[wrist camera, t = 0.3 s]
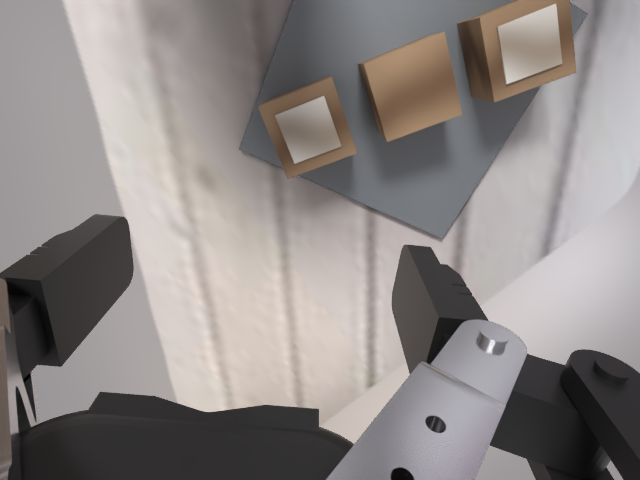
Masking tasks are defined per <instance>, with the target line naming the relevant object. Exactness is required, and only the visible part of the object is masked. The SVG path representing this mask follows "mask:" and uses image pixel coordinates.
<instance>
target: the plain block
mask: <svg viewBox="0 0 640 480" xmlns="http://www.w3.org/2000/svg"><path fill="white" fill-rule="evenodd" d="M358 66H359V69H360V72H361V76H362V79H363V82H364V86H365V89H366V92H367V95H368V99H369V102H370V105H371V109H372V112H373V115H374V118H375V122H376V125H377V128H378V132H379V133H380V134H381V135H382V136H383V138H384V139H385V140H386V141H387V142H389V141H392V140H394V139H397V138H400V137H402V136H405V135H408V134H411V133H413V132H416V131H419V130H421V129H424V128H427V127H429V126H432V125H435V124H438V123H440V122H443V121H446V120H448V119H451V118H454V117H457V116H459V115H462V111H461V106H460V102H459V97H458V92H457V88H456V83H455V78H454V73H453V69H452V64H451V59H450V55H449V50H448V45H447V40H446V36H445V32H441V33H437V34H432V35H428V36H425V37H423V38H420V39H418V40H415V41H413V42H410V43H408V44H405V45H403V46H400V47H398V48H395V49H393V50H390V51H388V52H386V53H383V54H381V55H378V56H376V57H373V58H371V59H368V60H366V61H363V62H361V63H358Z"/></svg>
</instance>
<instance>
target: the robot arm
mask: <svg viewBox="0 0 640 480" xmlns="http://www.w3.org/2000/svg"><path fill="white" fill-rule="evenodd" d="M132 276H133V258H132V249H131V240H130V231H129V225H128V221H127V220H126V218H125V217H120V216H110V215H99V214H95V215H93V216H92V217H90V218H89V219H87V220H86V221H85V222H83V223H82V224H80V225H79V226H77V227H76V228H74V229H73V230H70V231H67V232H65V233H62V234H59V235H56V236H54V237H53V238H51V239H50V240H48V241H47V242H46V243H44V244H43V245H42V247H38V248H37V249H35V250H34V251H32V252H31V253H30V255H26V256H25V257H23V258H22V259H20V260H19V261H17V262H16V263H14V264H13V265H11V266H10V267H9V268H7V269H5V270H4V271H3V272H1V273H0V480H475V478H476V476H477V473H478V471H479V468H480V466H481V464H482V461H483V459H484V457H485V454H486V452H487V449H488V447H489V445H490V446H493V447H496V448H499V449H501V450H504V451H507V452H510V453H512V454H515V455H518V456H521V457H523V458H526V459H527V461H528V463H529V465H530V467H531V470H532V472H533V474H534V476H535V478H536V480H614V479H613V477H612V476H611V474H610V472H609V471H608V469H607V468H606V466H607V465H608V463H609V462H610V460H611V461H612V462H613V464H614V465H615V467H616V468H617V470H618V471H619V473H620V475H621V476H622V478H623V479H624V480H640V373H638V372H637V371H636V370H635V369H633V368H632V367H630V366H629V365H627V364H626V363H624V362H622V361H620V360H618V359H616V358H614V357H612V356H610V355H607V354H604V353H601V352H597V351H593V350H577V351H574V352H573V353H572V354H571V355H570V357H569V359H568V361H567V363H566V365H562V364H558V363H555V362H552V361H548V360H545V359H541V358H538V357H535V356H532V355H529V354H527V348H526V346H525V344H524V342H523V341H522V340H521V339H520V337H518V336H517V335H516V334H515V333H513V332H512V331H511V330H509V329H507V328H506V327H503V326H501V325H499V324H496V323H494V322H490V321H488V319H487V317H486V316H485V314H484V313H483V311H482V310H481V308H480V306H479V305H478V303H477V301H476V300H475V298H474V297H473V296H472V293H471V292H470V290H469V289H468V287H466V284H465V282H464V281H463V279H462V277H461V276H460V274H458V273H457V272H456V271H454V270H453V269H452V268H450V267H449V266H448V265H443V264H440V263H439V261H438V259H437V257H436V255H435V254H434V252H433V250H432V248H431V247H424V246H414V245H404V246H403V248H402V251H401V255H400V259H399V264H398V269H397V273H396V278H395V282H394V287H393V292H392V311H393V314H394V318H395V322H396V325H397V329H398V333H399V336H400V340H401V344H402V347H403V351H404V355H405V358H406V362H407V365H408V369H409V373H410V376H409V377H408V378H407V379H406V381H405V382H404V383H403V384H402V385H401V387H400V388H399V389H398V391H397V392H396V393H395V394H394V395H393V397H392V398H391V399H390V401H389V402H388V403H387V404H386V406H385V407H384V408H383V409H382V410H381V412H380V413H379V414H378V415H377V417H376V418H375V419H374V420H373V422H372V423H371V424H370V425H369V427H368V428H367V429H366V430H365V432H364V433H363V434H362V435H361V437H360V438H359V439H358V440H357V442H356V443H355V444H353V443H352V442H350V441H348V440H347V439H345V438H344V437H342V436H340V435H338V434H336V433H334V432H331V431H329V430H327V429H324V428H321V427H319V409H310V408H298V407H285V406H272V405H262V406H255V407H247V408H240V409H232V410H225V411H217V412H203V411H199V410H196V409H193V408H190V407H187V406H184V405H181V404H177V403H174V402H171V401H168V400H165V399H162V398H159V397H156V396H146V395H133V394H120V393H107V392H100V393H99V394H98V396H97V398H96V399H95V401H94V402H93V404H92V405H91V407H90V408H89V410H84V411H79V412H75V413H70V414H66V415H63V416H59V417H56V418H53V419H50V420H47V421H45V422H42V423H40V420H39V413H38V406H37V398H36V391H35V383H34V379H33V375H32V372H31V371H32V370H33V369H34V368H35V366H36V365H48V366H60V367H61V366H62V365H63V364H64V362H65V361H66V360H67V359H68V358H69V357H70V356H71V354H72V353H73V352H74V351H75V350H76V348H77V347H78V346H79V345H80V344H81V342H82V341H83V340H84V339H85V338H86V336H87V335H88V334H89V333H90V332H91V330H92V329H93V328H94V327H95V326H96V325H97V323H98V322H99V321H100V320H101V318H102V317H103V316H104V315H105V314H106V312H107V311H108V310H109V309H110V308H111V306H112V305H113V304H114V303H115V302H116V301H117V299H118V298H119V297H120V296H121V295H122V293H123V292H124V291H125V290H126V289H127V287H128V286H129V284H130V282H131V280H132Z"/></svg>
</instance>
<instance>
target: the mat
mask: <svg viewBox="0 0 640 480" xmlns="http://www.w3.org/2000/svg"><path fill="white" fill-rule="evenodd" d="M512 1H514V0H293V3H292V6H291V8H290V11H289V14H288V17H287V19H286V22H285V25H284V28H283V30H282V33H281V36H280V38H279V41H278V44H277V47H276V49H275V52H274V55H273V58H272V60H271V63H270V66H269V69H268V71H267V74H266V77H265V80H264V82H263V85H262V88H261V90H260V93H259V96H258V99H257V101H256V104H255V107H254V110H253V112H252V115H251V118H250V121H249V123H248V126H247V129H246V131H245V134H244V137H243V140H242V142H241V145H240V148H239V149H240V150H242V151H244V152H246V153H249V154H251V155H253V156H255V157H258V158H260V159H262V160H265V161H267V162H269V163H271V164H274V165H276V166H278V167H280V168H283V166H282V163H281V161H280V158H279V156H278V154H277V151H276V149H275V146H274V144H273V142H272V139H271V137H270V135H269V132H268V130H267V127H266V125H265V123H264V120H263V118H262V116H261V113H260V111H259V108H258V107H259V106H260V105H261V104H263V103H264V102H265V101H267V100H269V99H272V98H274V97H277V96H279V95H282V94H284V93H287V92H289V91H292V90H294V89H297V88H299V87H302V86H304V85H306V84H309V83H311V82H314V81H316V80H319V79H321V78H324V77H326V76H329V75H331V77H332V79H333V82H334V85H335V88H336V91H337V94H338V97H339V100H340V103H341V106H342V109H343V112H344V115H345V118H346V121H347V124H348V127H349V130H350V133H351V136H352V139H353V142H354V145H355V148H356V151H357V153H356V154H354V155H351V156H348V157H346V158H343V159H340V160H337V161H335V162H332V163H329V164H327V165H324V166H321V167H318V168H316V169H313V170H310V171H308V172H305V173H302V174H300V175H299V176H301V177H303V178H305V179H308V180H310V181H312V182H314V183H317V184H319V185H321V186H324V187H326V188H328V189H330V190H333V191H335V192H337V193H339V194H342V195H344V196H346V197H349V198H351V199H353V200H355V201H358V202H360V203H362V204H364V205H367V206H369V207H371V208H374V209H376V210H378V211H380V212H383V213H385V214H387V215H389V216H392V217H394V218H396V219H399V220H401V221H403V222H405V223H408V224H410V225H412V226H414V227H417V228H419V229H421V230H424V231H426V232H428V233H430V234H433V235H435V236H437V237H439V238H442V239H443V237H444V235H445V234H446V232H447V231H448V229H449V228H450V226H451V225H452V223H453V222H454V220H455V218H456V217H457V215H458V214H459V212H460V211H461V209H462V208H463V206H464V204H465V203H466V201H467V200H468V198H469V197H470V195H471V194H472V192H473V191H474V189H475V187H476V186H477V184H478V183H479V181H480V180H481V178H482V177H483V175H484V174H485V172H486V170H487V169H488V167H489V166H490V164H491V163H492V161H493V160H494V158H495V156H496V155H497V153H498V152H499V150H500V149H501V147H502V146H503V144H504V143H505V141H506V139H507V138H508V136H509V135H510V133H511V132H512V130H513V129H514V127H515V126H516V124H517V122H518V121H519V119H520V118H521V116H522V115H523V113H524V112H525V110H526V108H527V107H528V105H529V104H530V102H531V101H532V99H533V98H534V96H535V95H536V93H537V91H538V90H539V88H540V87H541V85H540V86H538V87H535V88H532V89H530V90H527V91H524V92H522V93H519V94H516V95H513V96H511V97H508V98H505V99H503V100H500V101H497V102H491V101H486V100H482V99H478V98H474V97H471V93H470V88H469V83H468V78H467V73H466V68H465V62H464V57H463V52H462V47H461V42H460V37H459V32H458V27H457V23H460V22H462V21H465V20H467V19H470V18H472V17H474V16H477V15H479V14H482V13H484V12H487V11H489V10H492V9H494V8H497V7H499V6H502V5H504V4H507V3H509V2H512ZM570 9H571V20H572V31H573V36H574V34H575V33H576V31H577V30H578V28H579V26H580V25H581V23H582V22H583V20H584V19H585V17H586V16H587V14H588V13H586V12H585V11H583V10H581V9H580V8H578V7H576V6H575V5H573V4H571V3H570ZM441 32H445V36H446V40H447V45H448V50H449V55H450V59H451V64H452V69H453V73H454V78H455V83H456V88H457V92H458V97H459V102H460V106H461V111H462V115H459V116H457V117H454V118H451V119H448V120H446V121H443V122H440V123H438V124H435V125H432V126H429V127H427V128H424V129H421V130H419V131H416V132H413V133H411V134H408V135H405V136H402V137H400V138H397V139H394V140H392V141H389V142H387V141H386V140H385V139H384V138H383V136H382V135H381V134H380V133H379V132H378V128H377V125H376V122H375V118H374V115H373V112H372V109H371V105H370V102H369V99H368V95H367V92H366V89H365V86H364V82H363V79H362V76H361V72H360V69H359V66H358V63H361V62H363V61H366V60H368V59H371V58H373V57H376V56H378V55H381V54H383V53H386V52H388V51H390V50H393V49H395V48H398V47H400V46H403V45H405V44H408V43H410V42H413V41H415V40H418V39H420V38H423V37H425V36H428V35H432V34H437V33H441ZM283 169H284V168H283Z"/></svg>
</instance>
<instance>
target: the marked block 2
mask: <svg viewBox="0 0 640 480" xmlns="http://www.w3.org/2000/svg"><path fill="white" fill-rule="evenodd" d="M457 27H458V32H459V37H460V42H461V47H462V52H463V57H464V62H465V68H466V73H467V78H468V83H469V88H470V93H471V97H474V98H478V99H482V100H486V101H491V102H497V101H500V100H503V99H505V98H508V97H511V96H513V95H516V94H519V93H522V92H524V91H527V90H530V89H532V88H535V87H538V86H540V85H543V84H546V83H549V82H551V81H554V80H557V79H559V78H562V77H565V76H568V75H570V74H573V73H576V64H575V53H574V42H573V31H572V20H571V9H570V0H514V1H512V2H509V3H507V4H504V5H502V6H499V7H497V8H494V9H492V10H489V11H487V12H484V13H482V14H479V15H477V16H474V17H472V18H470V19H467V20H465V21H462V22H460V23H457Z"/></svg>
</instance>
